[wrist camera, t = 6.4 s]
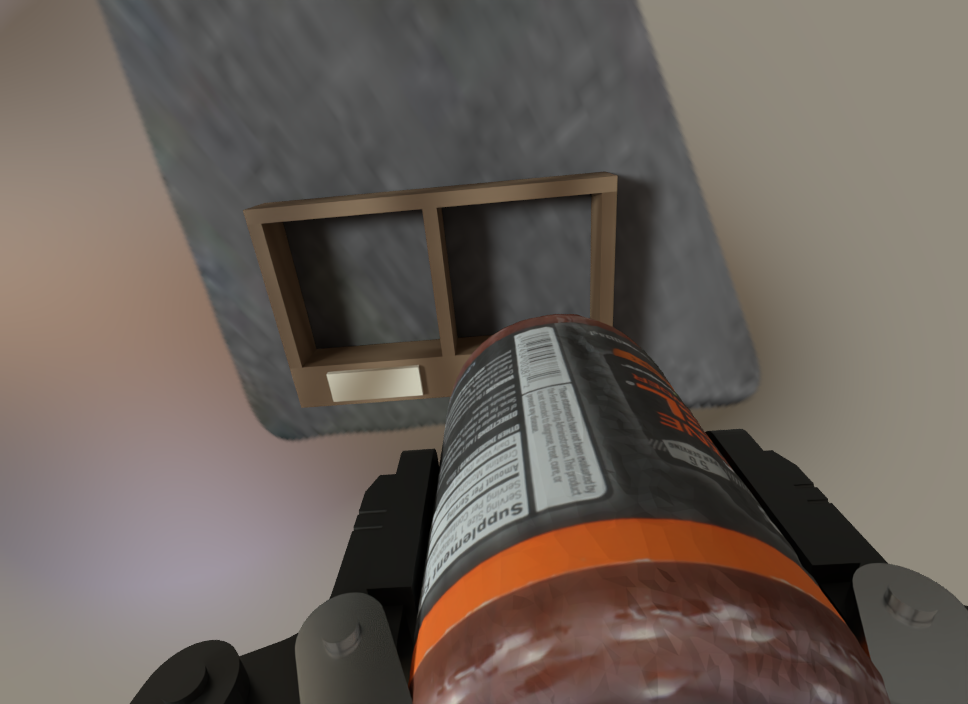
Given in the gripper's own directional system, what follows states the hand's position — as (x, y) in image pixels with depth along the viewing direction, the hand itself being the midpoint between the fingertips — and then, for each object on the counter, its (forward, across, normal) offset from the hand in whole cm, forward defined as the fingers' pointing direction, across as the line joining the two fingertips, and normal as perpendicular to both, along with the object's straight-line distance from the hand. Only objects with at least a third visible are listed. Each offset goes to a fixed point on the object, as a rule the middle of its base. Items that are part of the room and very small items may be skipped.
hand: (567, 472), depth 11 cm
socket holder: (+18, +4, +1) cm, 18 cm away
